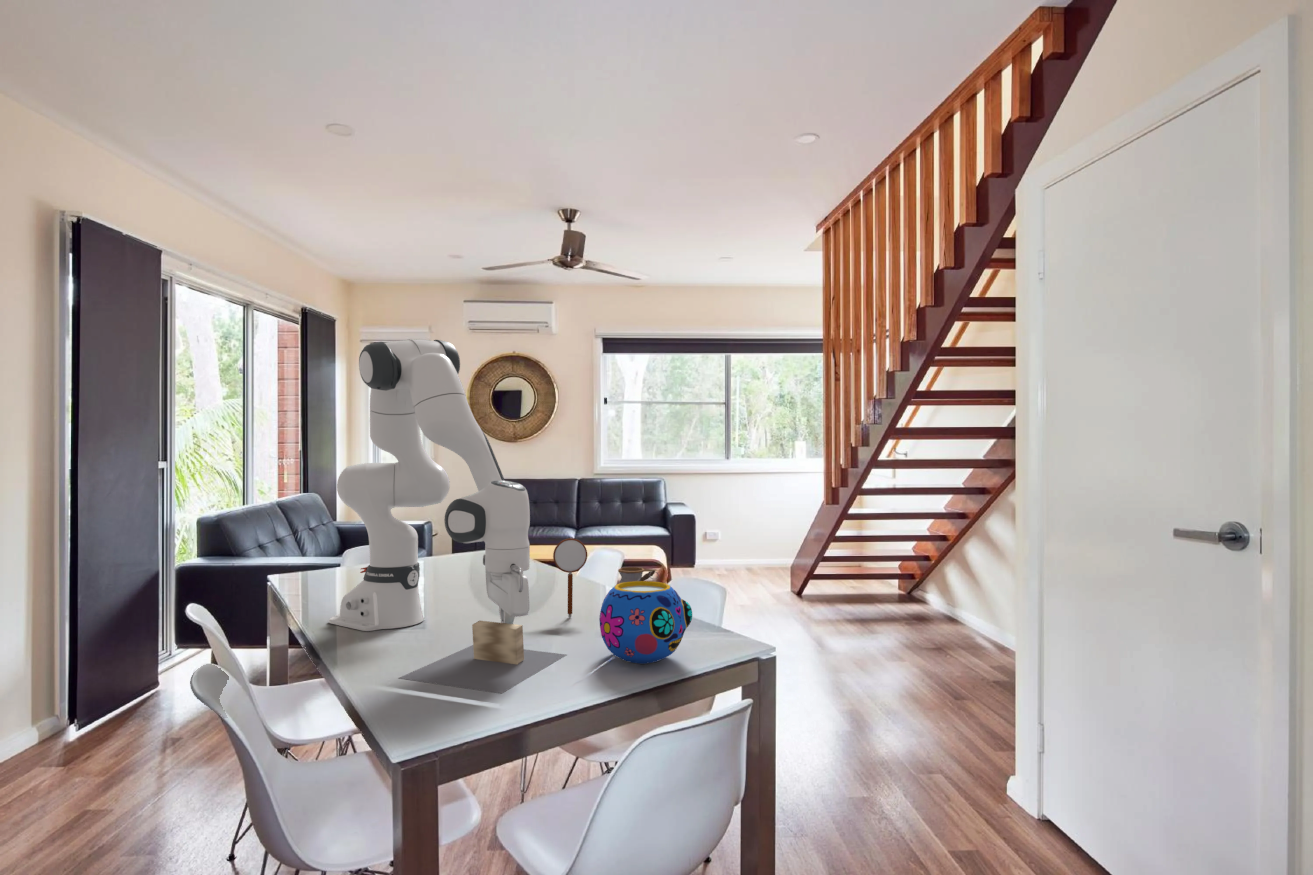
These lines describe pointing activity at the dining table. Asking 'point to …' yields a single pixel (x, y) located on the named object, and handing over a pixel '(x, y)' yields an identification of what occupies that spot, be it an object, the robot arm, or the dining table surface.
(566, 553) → the magnifying glass
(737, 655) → the dining table surface
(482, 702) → the dining table surface
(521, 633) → the birch tile
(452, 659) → the rubber mat
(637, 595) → the ceramic pot
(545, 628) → the dining table surface
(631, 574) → the coffee pot
